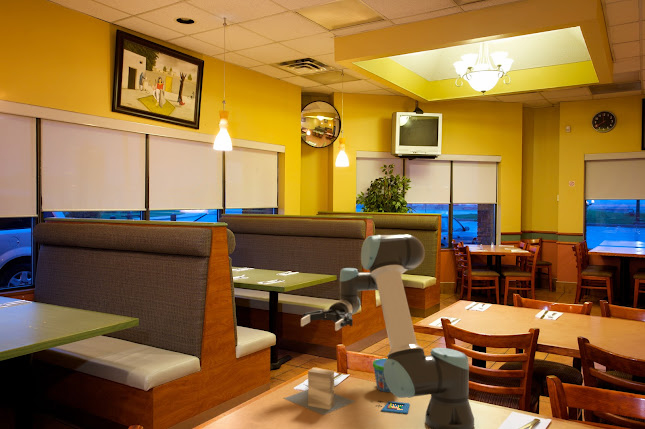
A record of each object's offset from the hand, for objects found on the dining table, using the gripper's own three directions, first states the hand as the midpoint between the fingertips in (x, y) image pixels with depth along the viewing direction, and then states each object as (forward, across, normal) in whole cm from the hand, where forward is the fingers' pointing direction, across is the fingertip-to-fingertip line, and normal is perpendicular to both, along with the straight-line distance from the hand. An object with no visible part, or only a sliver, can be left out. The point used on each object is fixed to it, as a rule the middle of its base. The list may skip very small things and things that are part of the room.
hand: (318, 324), depth 183 cm
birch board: (+9, -5, -25) cm, 27 cm away
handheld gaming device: (0, -26, -26) cm, 37 cm away
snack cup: (-16, -21, -26) cm, 37 cm away
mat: (+5, -2, -26) cm, 27 cm away
